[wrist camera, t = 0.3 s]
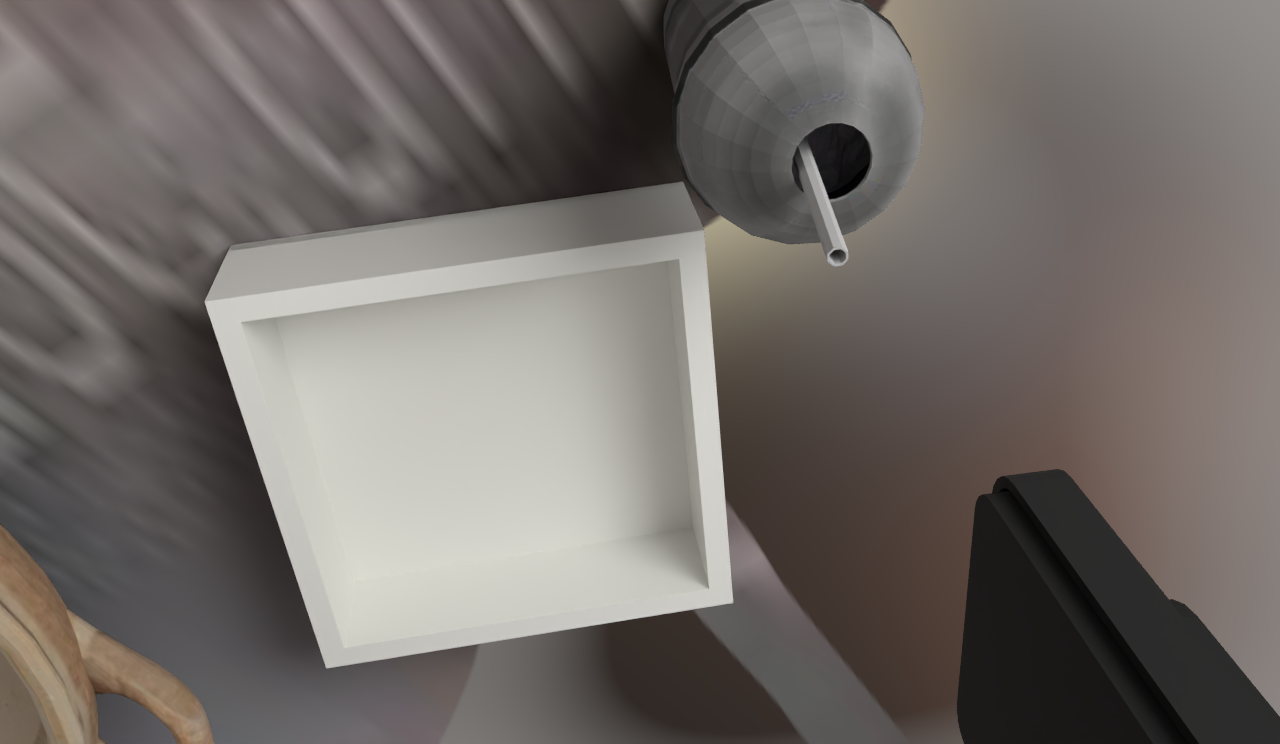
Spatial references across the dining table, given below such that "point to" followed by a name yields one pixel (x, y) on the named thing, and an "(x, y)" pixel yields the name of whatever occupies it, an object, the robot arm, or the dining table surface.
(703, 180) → the beverage cup
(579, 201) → the white bin
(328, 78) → the dining table surface
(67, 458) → the dining table surface
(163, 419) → the dining table surface
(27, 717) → the ceramic bowl
